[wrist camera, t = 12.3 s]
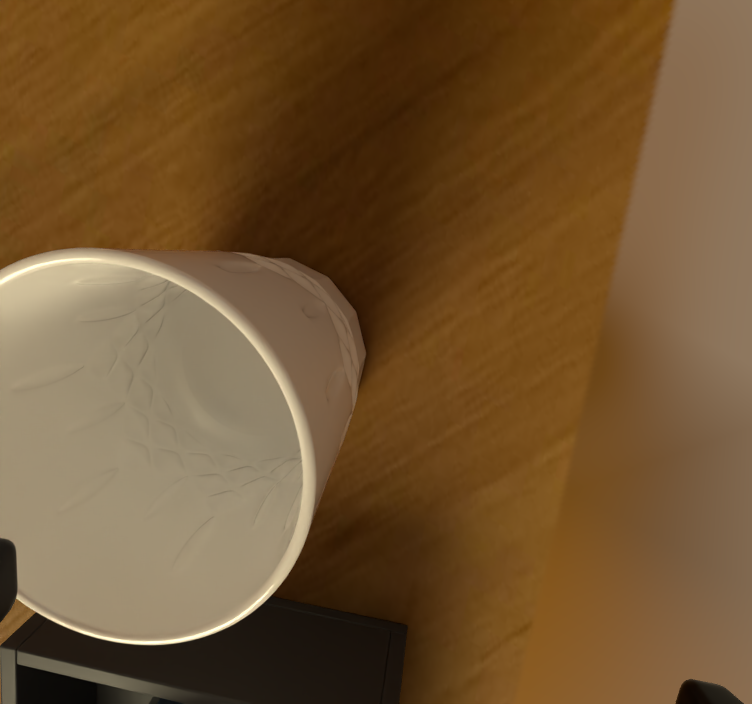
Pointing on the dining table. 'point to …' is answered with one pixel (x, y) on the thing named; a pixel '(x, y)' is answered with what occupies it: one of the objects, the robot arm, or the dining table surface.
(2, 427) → the white cup
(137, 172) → the dining table surface
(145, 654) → the tub
